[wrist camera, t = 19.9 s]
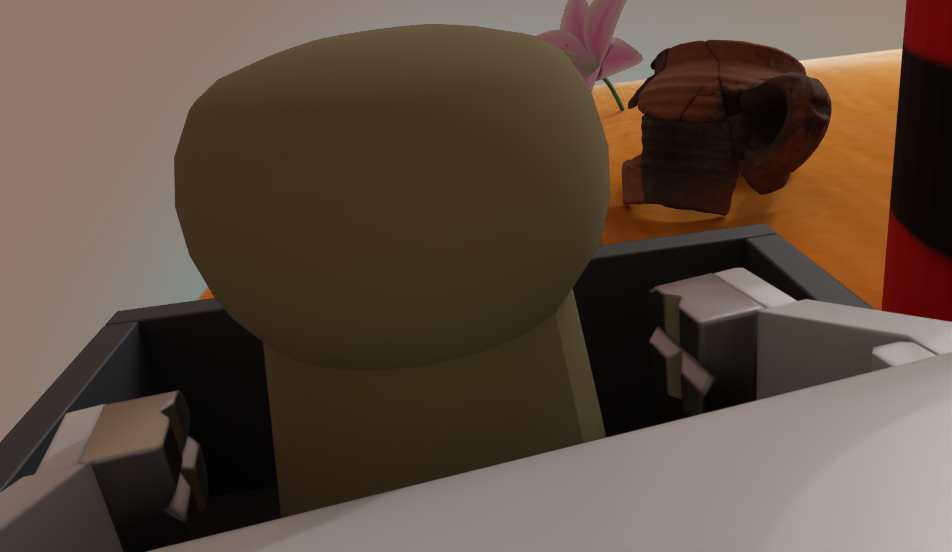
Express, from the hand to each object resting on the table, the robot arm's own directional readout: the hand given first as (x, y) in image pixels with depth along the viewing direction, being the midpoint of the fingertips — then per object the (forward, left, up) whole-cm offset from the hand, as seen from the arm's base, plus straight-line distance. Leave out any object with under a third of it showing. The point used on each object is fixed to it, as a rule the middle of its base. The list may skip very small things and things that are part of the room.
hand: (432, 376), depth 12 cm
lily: (-40, -26, -7) cm, 48 cm away
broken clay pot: (-28, -9, -7) cm, 30 cm away
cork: (+1, +1, -6) cm, 6 cm away
